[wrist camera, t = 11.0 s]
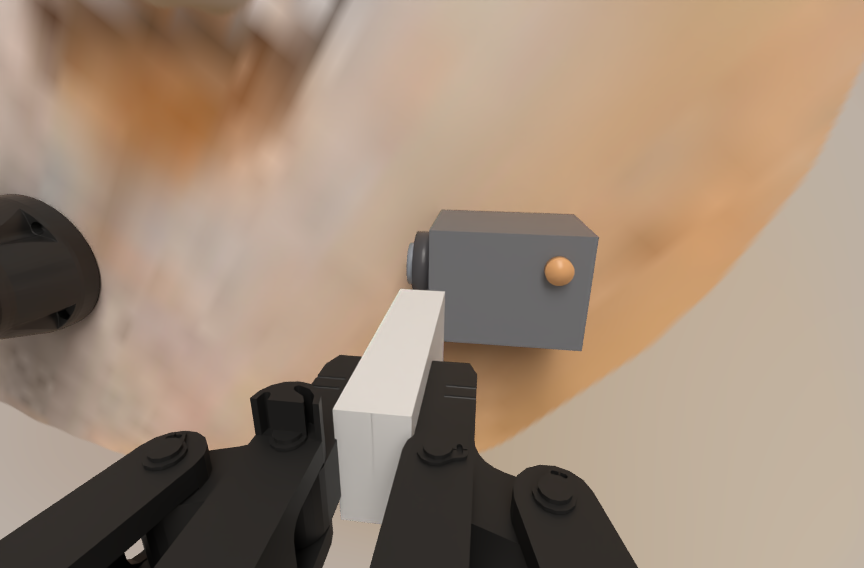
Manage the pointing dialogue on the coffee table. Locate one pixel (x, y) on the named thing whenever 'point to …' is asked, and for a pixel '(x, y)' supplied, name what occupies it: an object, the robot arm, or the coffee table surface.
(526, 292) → the camera body
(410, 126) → the coffee table surface
